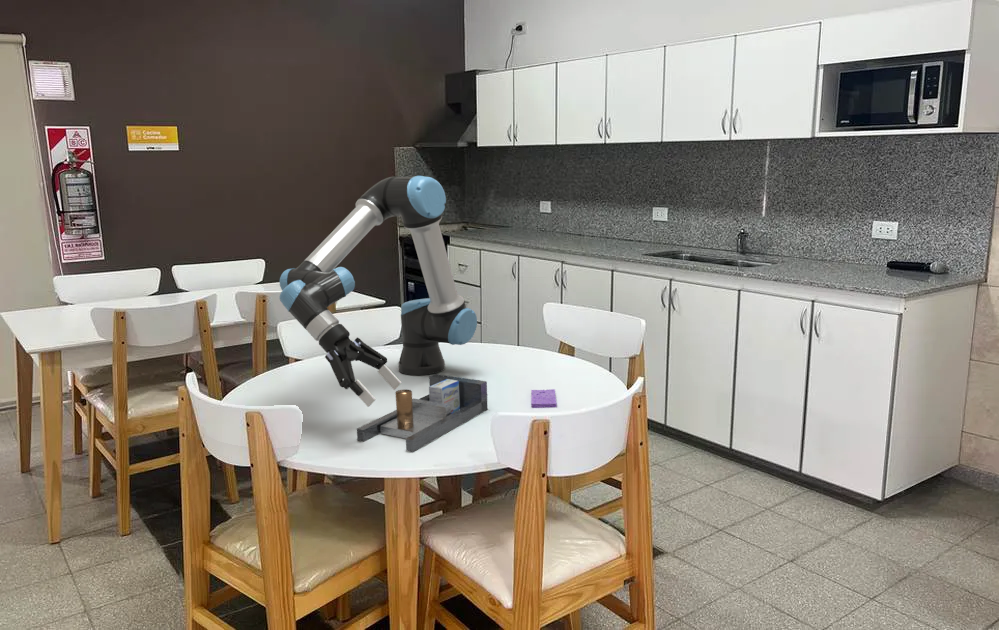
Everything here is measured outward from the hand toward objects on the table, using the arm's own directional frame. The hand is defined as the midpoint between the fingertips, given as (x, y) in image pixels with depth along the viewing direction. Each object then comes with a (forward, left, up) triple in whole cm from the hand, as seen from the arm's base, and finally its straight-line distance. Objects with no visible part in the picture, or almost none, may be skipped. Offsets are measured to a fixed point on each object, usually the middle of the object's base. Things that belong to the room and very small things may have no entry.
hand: (385, 394), depth 188 cm
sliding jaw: (+5, +6, -10) cm, 13 cm away
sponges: (+23, +40, -11) cm, 48 cm away
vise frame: (+5, +10, -10) cm, 15 cm away
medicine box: (+5, +19, -10) cm, 22 cm away
